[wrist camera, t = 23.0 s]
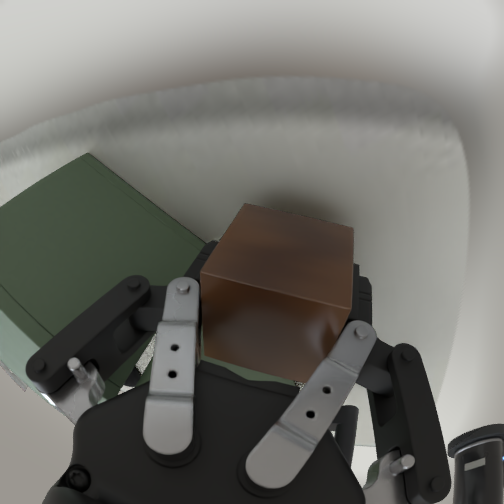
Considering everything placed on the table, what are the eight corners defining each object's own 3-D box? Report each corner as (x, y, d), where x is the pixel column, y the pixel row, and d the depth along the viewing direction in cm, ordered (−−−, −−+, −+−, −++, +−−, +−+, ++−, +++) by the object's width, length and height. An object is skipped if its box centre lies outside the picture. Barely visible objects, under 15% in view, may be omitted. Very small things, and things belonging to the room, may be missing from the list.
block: (354, 227, 13) (351, 309, 9) (327, 306, 16) (314, 386, 12) (244, 202, 14) (199, 270, 10) (238, 284, 17) (203, 356, 13)
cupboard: (211, 247, 20) (112, 404, 11) (141, 336, 30) (84, 429, 20) (87, 152, 18) (-51, 247, 9) (61, 272, 28) (-9, 350, 19)
